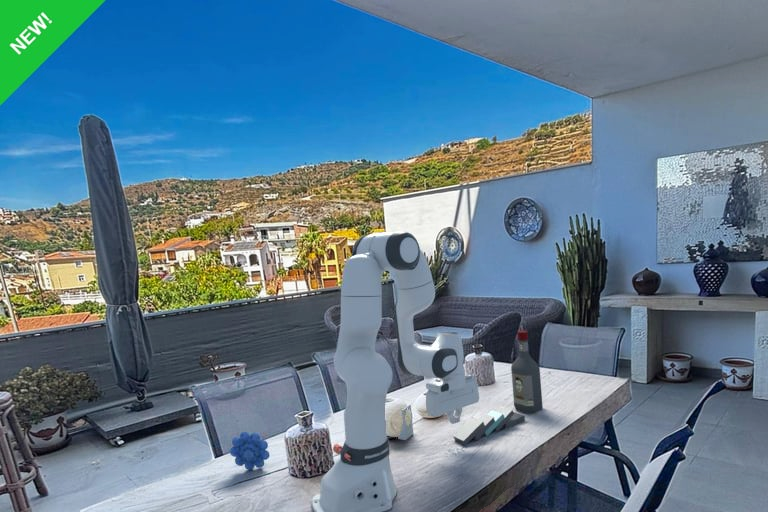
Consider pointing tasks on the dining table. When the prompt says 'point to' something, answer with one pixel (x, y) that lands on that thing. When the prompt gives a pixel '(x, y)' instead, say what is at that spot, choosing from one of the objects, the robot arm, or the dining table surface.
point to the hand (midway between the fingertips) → (455, 422)
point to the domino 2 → (487, 422)
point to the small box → (406, 430)
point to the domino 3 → (498, 419)
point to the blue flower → (249, 450)
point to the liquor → (526, 379)
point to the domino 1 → (468, 431)
